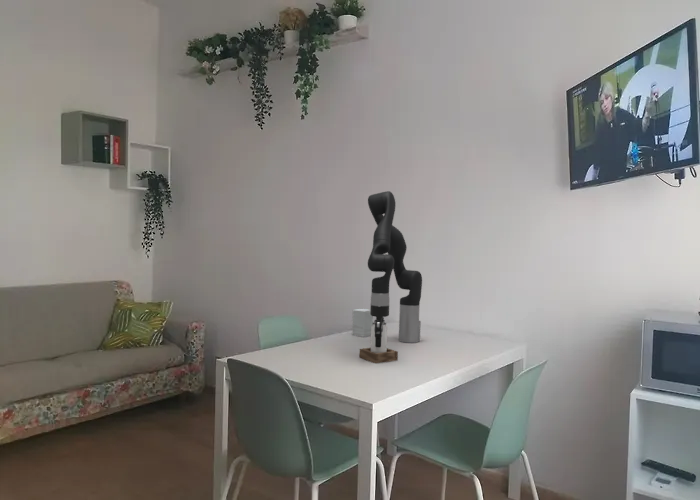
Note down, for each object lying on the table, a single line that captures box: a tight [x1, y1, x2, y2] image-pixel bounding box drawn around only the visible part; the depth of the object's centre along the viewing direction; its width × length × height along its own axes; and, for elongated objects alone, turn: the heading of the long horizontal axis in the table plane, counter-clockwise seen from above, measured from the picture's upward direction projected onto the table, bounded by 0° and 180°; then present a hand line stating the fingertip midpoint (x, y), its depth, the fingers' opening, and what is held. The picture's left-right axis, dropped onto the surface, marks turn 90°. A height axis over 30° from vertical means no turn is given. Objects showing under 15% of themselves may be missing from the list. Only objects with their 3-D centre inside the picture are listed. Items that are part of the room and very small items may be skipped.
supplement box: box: [351, 308, 374, 338], centre depth 273 cm, size 7×7×13 cm
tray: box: [358, 347, 399, 364], centre depth 225 cm, size 11×11×4 cm
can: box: [370, 322, 388, 353], centre depth 225 cm, size 6×6×12 cm
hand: (378, 345), depth 225 cm, fingers closed on can, 6 cm apart
